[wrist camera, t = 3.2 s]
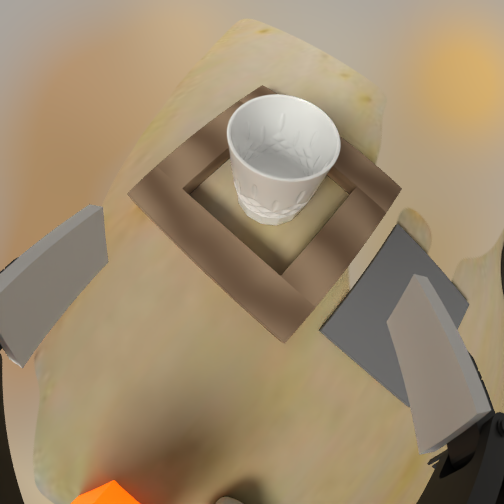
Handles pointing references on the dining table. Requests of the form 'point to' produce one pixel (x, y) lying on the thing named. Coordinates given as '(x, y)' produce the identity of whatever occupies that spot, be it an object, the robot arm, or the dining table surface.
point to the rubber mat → (386, 308)
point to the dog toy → (228, 501)
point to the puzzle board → (237, 253)
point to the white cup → (279, 155)
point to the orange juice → (106, 495)
